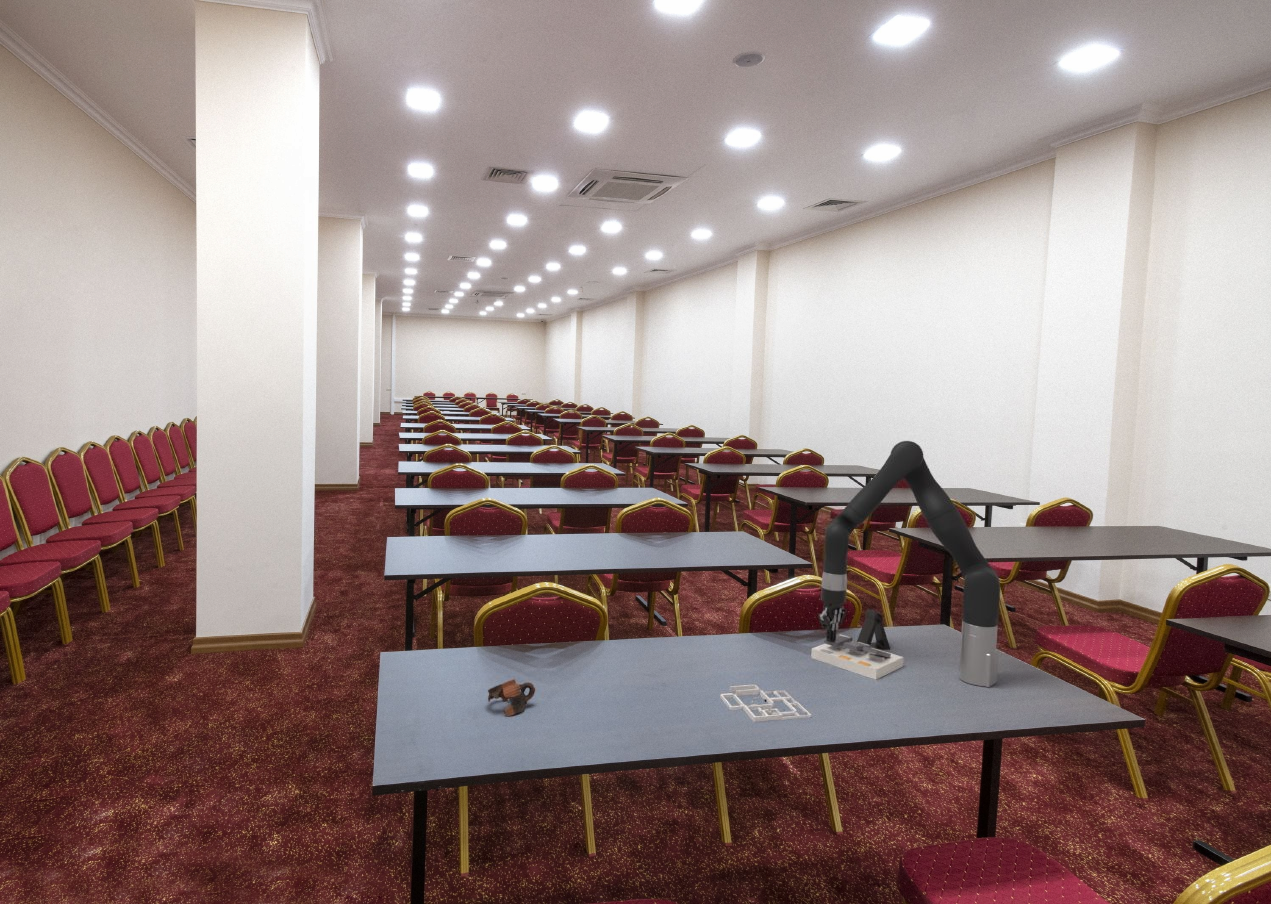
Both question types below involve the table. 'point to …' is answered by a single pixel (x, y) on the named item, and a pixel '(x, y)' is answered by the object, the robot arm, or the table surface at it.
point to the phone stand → (874, 631)
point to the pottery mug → (512, 695)
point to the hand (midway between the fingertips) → (831, 640)
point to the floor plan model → (766, 715)
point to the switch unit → (857, 660)
